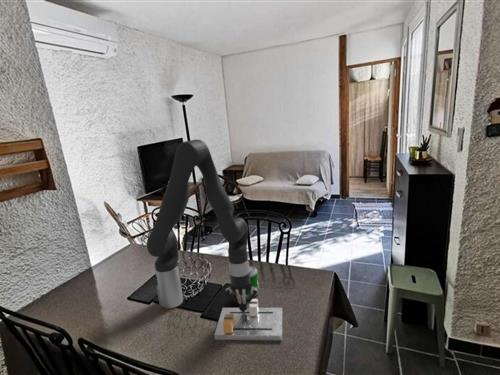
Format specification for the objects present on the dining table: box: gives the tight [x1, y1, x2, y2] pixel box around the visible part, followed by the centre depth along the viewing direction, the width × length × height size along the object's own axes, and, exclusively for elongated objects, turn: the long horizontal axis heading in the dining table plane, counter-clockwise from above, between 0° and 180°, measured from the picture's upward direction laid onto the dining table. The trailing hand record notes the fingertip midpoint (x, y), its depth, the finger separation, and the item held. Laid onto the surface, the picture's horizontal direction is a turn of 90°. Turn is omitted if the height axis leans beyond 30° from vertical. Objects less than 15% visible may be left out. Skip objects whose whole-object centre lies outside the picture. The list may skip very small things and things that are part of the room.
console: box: [213, 307, 283, 341], centre depth 110 cm, size 24×16×2 cm, turn 84°
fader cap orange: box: [223, 314, 235, 333], centre depth 107 cm, size 3×5×4 cm, turn 174°
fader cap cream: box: [248, 298, 260, 316], centre depth 114 cm, size 3×5×4 cm, turn 174°
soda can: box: [247, 265, 260, 297], centre depth 129 cm, size 8×8×12 cm
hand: (243, 310), depth 115 cm, fingers closed
